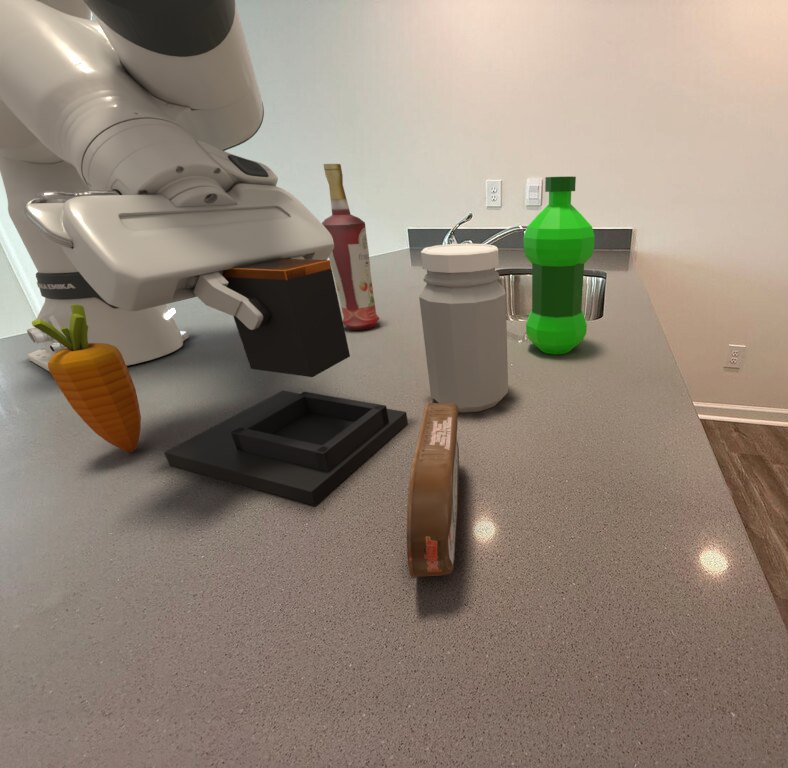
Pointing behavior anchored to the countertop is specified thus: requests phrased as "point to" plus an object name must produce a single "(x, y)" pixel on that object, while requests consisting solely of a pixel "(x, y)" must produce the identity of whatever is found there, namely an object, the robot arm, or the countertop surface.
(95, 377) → the carrot
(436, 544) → the tin
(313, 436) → the base pad
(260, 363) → the pad block
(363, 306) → the liquor
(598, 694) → the countertop surface
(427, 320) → the jar
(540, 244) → the plastic bottle
